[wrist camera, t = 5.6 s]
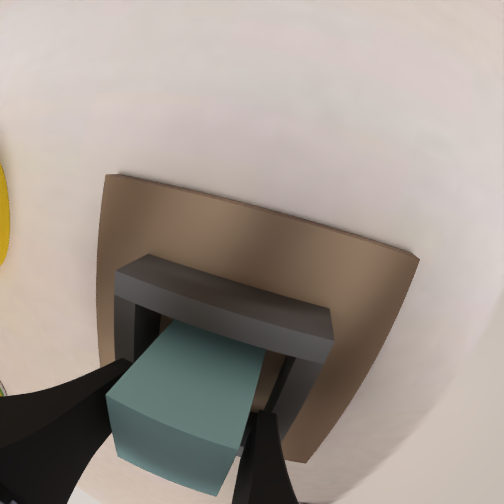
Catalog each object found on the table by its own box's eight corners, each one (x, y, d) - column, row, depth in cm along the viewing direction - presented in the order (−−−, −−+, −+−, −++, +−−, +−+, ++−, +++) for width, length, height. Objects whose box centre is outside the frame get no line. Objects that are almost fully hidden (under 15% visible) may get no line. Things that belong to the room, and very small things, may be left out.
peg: (268, 338, 12) (238, 449, 6) (247, 399, 13) (216, 496, 7) (182, 310, 12) (105, 394, 6) (174, 374, 13) (117, 456, 7)
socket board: (411, 253, 11) (446, 279, 7) (306, 452, 15) (303, 493, 11) (118, 174, 12) (68, 176, 9) (111, 384, 16) (84, 414, 13)
